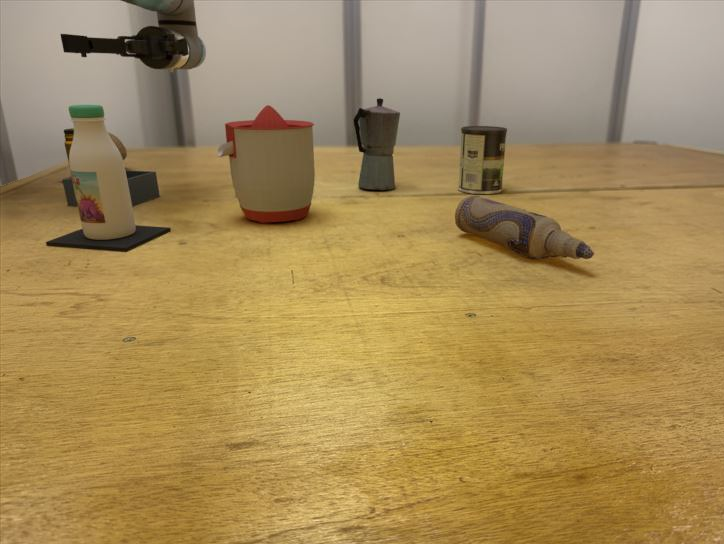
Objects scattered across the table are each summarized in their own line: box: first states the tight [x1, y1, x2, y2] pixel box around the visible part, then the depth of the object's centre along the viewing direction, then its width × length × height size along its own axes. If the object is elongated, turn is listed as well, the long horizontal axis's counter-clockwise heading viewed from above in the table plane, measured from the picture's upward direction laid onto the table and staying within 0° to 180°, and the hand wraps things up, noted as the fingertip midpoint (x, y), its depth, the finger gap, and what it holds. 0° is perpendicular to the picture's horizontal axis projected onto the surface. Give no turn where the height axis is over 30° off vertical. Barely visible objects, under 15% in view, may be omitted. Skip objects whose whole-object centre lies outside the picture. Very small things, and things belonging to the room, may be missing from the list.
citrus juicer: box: [216, 104, 316, 224], centre depth 100 cm, size 16×17×20 cm
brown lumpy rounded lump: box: [108, 132, 128, 161], centre depth 146 cm, size 9×9×10 cm
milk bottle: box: [68, 104, 136, 240], centre depth 86 cm, size 8×8×20 cm
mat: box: [45, 224, 172, 253], centre depth 90 cm, size 14×12×1 cm
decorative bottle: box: [454, 194, 595, 260], centre depth 85 cm, size 26×8×7 cm, turn 33°
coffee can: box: [458, 125, 508, 195], centre depth 127 cm, size 10×10×14 cm
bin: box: [61, 169, 161, 207], centre depth 114 cm, size 12×12×5 cm
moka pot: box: [353, 97, 401, 191], centre depth 126 cm, size 10×15×20 cm, turn 149°
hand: (106, 43), depth 88 cm, fingers open, 13 cm apart
